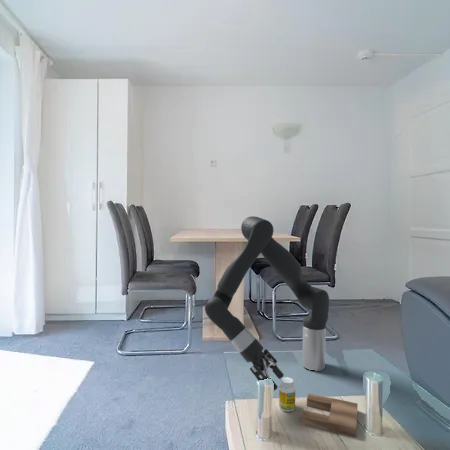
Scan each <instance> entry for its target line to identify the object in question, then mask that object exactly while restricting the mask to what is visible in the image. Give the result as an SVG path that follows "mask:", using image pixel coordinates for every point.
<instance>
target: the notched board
mask: <svg viewBox="0 0 450 450" xmlns="http://www.w3.org/2000/svg"><path fill="white" fill-rule="evenodd" d="M306 406H307V407H311V408H316V409H319V410H320V409H321V410H324V411H329V415H327V414H322V413H318V412H315V411H314V412H313V411H309V410H304V409H303V410H302V414H301V420H300V422H301V425H305V426H308V427H313V428H316V429H317V428H318V429H320V430H325V431H329V432H333V433H338V434H343V435H346V436H350V437H355V438H356V437H357V423H358V422H357V421H358V408H359V407H358V403H357V402H352V401H349V400H348V401H347V400H343V399H342V400H341V399H338V398H332V397H329V396H323V395H318V394H315V393H308V394H307V397H306Z"/></svg>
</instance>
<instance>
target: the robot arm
mask: <svg viewBox="0 0 450 450" xmlns="http://www.w3.org/2000/svg"><path fill="white" fill-rule="evenodd" d="M240 229H241V234H242V236H243V237H244V239H246V240H247V243H246V245H245V247H244V249H243V250H242V251H241V252H240V254H239V255H238V256H237V257H236V258H235V259H234V260H233V261H231V262H230V264H229V265H228V266H227V267H226V269H225V270H224V272H223V274H222V276H221V278H220V279H219V281H218V284H217V288H216V291H215V292H214V295H213V296H212V297H211V299H208V301H207V302H206V303H205V306H204V311H205V314H206V316H207V317H208V319H209V320H210V321H211V322H212V323H213V324H215V325H216V327H218V328H219V329H220V331H222V332H223V333H224V335H225V336H226V338H228V339H229V341H230V342H231V345H233V347H234V348H235V350H236V351H237V353H239V354H240V355H241V357H242V358H243V359H244V360H245V362H246V363H249V364H250V363H252V366H251V367H249V370H250V371H251V373H252V374H253V375H254V377H255V378H256V379H257V381H259V380H264V379H267V378H268V379H272V378H271V377H270V373H269V369H270V371H272V372H273V373H274V375H275V376H276V378H278V379H279V380H281V379H282V378H284V376H285V375H284V373H283V372H282V371H281V370H280V368H279V367H278V364H277V363H278V361H277V359H276V358H275V356H273V354H272V353H271V352H270V351H269V350H268V349H267V348H265V349H264V346H263V345H262V344H261V343H260V342H259V340H258V339H257V338H256V337H255V336H254V334H253V333H252V332H251V331H250V330H249V329H248V328H246V326H245V324H243V322H242V321H241V320H240V319H239V318H238V317H236V316H234V315H233V314H232V313H231V312H230V311H229V307H230V305H231V303H232V300H233V298H234V296H235V294H236V293H237V291H238V289H239V288H240V285H241V284H242V281H243V280H244V278H245V277H246V274H247V273H248V271H249V269H250V268H251V267H252V266H253V265H254V262H255V261H256V260H257V259H258V258H259V256H260V254H261V255H262V257H263V258H264V259H265V261H266V262H267V263H268V264H269V266H270V267H271V268H272V269H273V271H274V272H275V273H276V274H277V275H278V277H279V278H280V279H281V280H282V281H283V282H284V284H286V286H287V287H288V288H289V289H290V290H291V291H292V293H293V294H294V296H295V297H296V299H297V301H299V303H300V305H301V306H303V307H304V308H306V309H309V310H311V315H309V316H305V317H304V318H303V320H302V357H301V361H302V362H301V363H303V365H304V366H305V367H306V368H307V369H309V370H308V371H310V370H315V371H314V372H321V371H324V369H325V367H326V341H327V339H326V338H327V337H326V336H327V335H326V333H327V332H326V331H327V322H328V320H329V312H330V311H329V309H330V308H329V307H330V297H329V294H328V292H327V291H326V290H325V289H323V288H318V287H315V286H312V285H311V284H309V282H307V281H306V280H305V278H304V277H303V269H302V266H301V264H300V262H299V261H298V260H297V258H295V256H294V255H293V254H292V253H291V252H290V251H289V250H288V249H287V248H286V247H284V246H283V245H281V244H280V243H279V242H278V241H277V240H275V238H274V237H273V235H274V225H273V224H272V222H271V221H269V220H267V219H265V218H262V217H259V216H254V215H253V216H248V217H246V218H244V219H243V221H242V223H241V226H240ZM307 369H306V370H307ZM272 381H273V383H274V391H273V392H275V391H276V390H277V389H279V386H278V385H277V383H275V381H274V380H273V379H272Z"/></svg>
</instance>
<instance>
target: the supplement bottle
mask: <svg viewBox="0 0 450 450" xmlns="http://www.w3.org/2000/svg"><path fill="white" fill-rule="evenodd" d="M280 380H281V382H280V383H281V384H280V385H279V386H278V389H279V390H278V391H279V393H278V406H279V408H280V410H282V411H284V412H293V411H294V410H295V409H296V387H295V385H294V379H293V378H291V377H288V376H286V377H284V376H283V377H282V378H281V379H280Z"/></svg>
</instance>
